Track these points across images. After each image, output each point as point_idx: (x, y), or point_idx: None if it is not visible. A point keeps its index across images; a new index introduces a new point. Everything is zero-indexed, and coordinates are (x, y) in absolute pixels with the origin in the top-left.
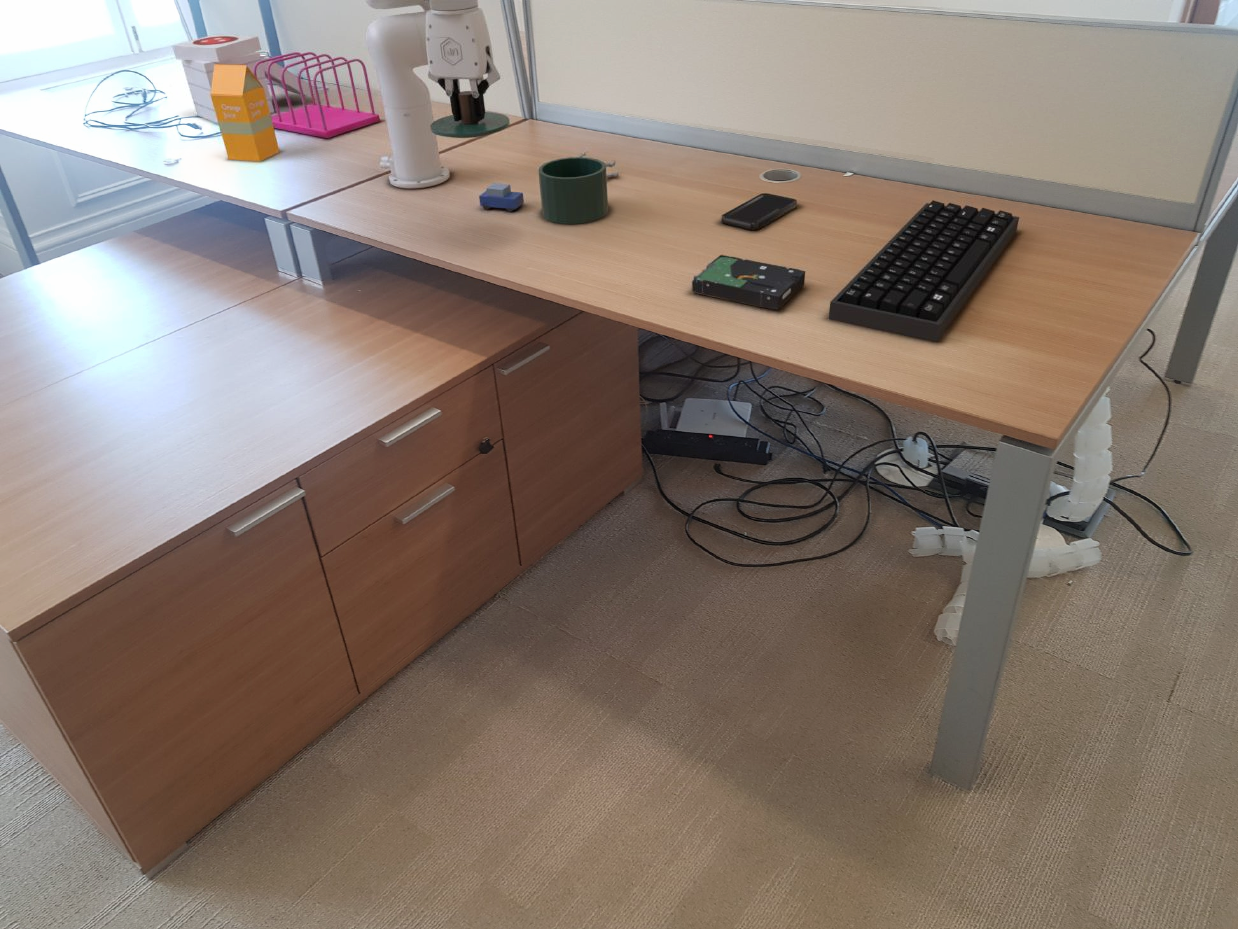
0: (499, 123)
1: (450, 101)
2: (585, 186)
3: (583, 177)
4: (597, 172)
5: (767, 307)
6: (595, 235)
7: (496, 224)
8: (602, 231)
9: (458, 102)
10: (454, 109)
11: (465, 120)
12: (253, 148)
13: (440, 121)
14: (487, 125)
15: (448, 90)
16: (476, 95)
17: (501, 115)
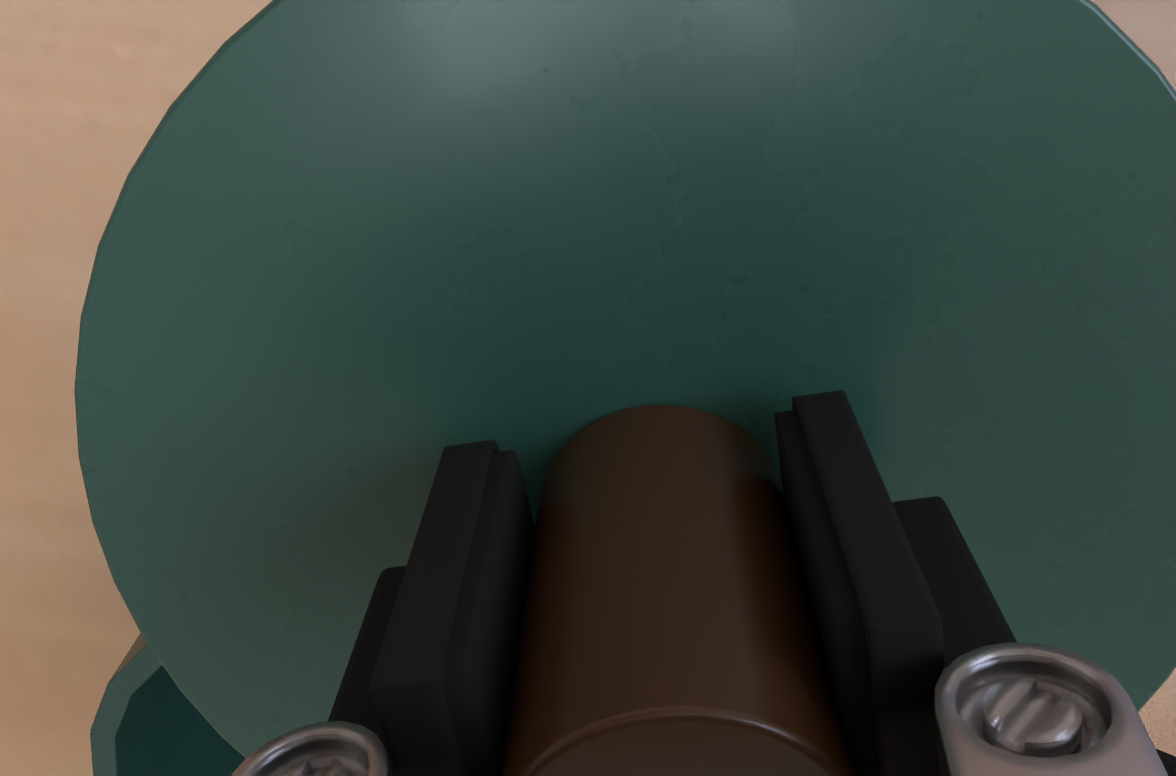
0: (226, 599)
1: (1001, 619)
2: (136, 641)
3: (115, 677)
4: (103, 768)
5: None
6: (58, 386)
7: None
8: (67, 444)
9: (823, 647)
10: (840, 484)
11: (643, 434)
12: None
13: (1161, 414)
14: (307, 475)
15: (1072, 761)
16: (288, 770)
17: None
